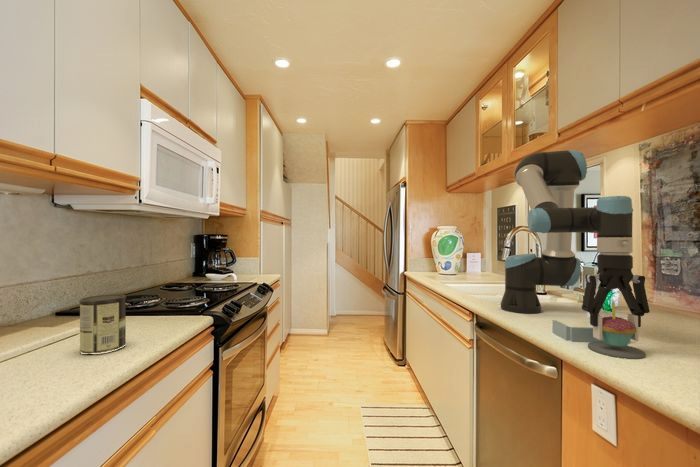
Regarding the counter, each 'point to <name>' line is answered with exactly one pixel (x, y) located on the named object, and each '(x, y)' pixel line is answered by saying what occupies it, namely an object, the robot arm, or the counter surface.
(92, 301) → the coffee can
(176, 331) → the counter surface
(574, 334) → the pen walls
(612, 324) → the cupcake
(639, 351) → the pad
